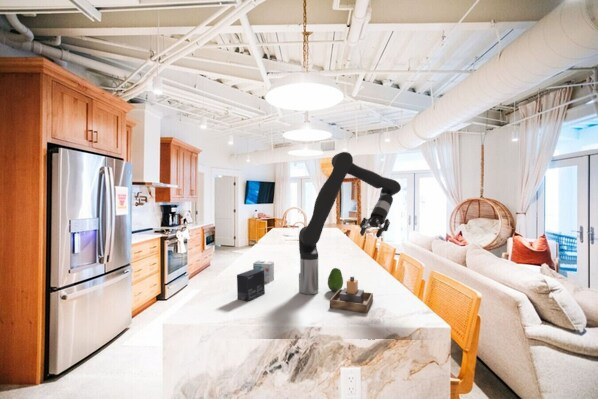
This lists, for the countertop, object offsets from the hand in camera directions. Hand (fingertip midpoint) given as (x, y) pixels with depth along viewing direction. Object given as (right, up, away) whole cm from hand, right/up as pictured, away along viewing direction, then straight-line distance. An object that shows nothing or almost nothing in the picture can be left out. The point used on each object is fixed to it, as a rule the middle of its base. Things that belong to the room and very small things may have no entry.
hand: (369, 235), depth 142 cm
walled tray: (-10, -30, -10) cm, 33 cm away
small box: (-57, -30, +1) cm, 65 cm away
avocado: (-15, -30, +8) cm, 35 cm away
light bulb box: (-55, -30, +28) cm, 68 cm away
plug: (-10, -29, -10) cm, 32 cm away
